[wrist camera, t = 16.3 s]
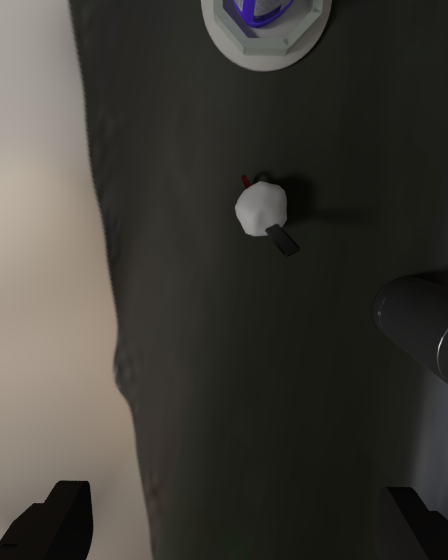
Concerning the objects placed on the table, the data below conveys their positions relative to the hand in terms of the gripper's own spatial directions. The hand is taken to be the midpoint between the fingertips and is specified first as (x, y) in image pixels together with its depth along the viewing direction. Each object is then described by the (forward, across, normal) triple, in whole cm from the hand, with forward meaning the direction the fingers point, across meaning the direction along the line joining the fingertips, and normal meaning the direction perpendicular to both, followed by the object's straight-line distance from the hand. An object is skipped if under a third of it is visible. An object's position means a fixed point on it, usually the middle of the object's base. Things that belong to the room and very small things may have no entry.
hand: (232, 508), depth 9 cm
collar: (+36, -4, -32) cm, 48 cm away
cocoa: (+36, -4, -8) cm, 37 cm away
